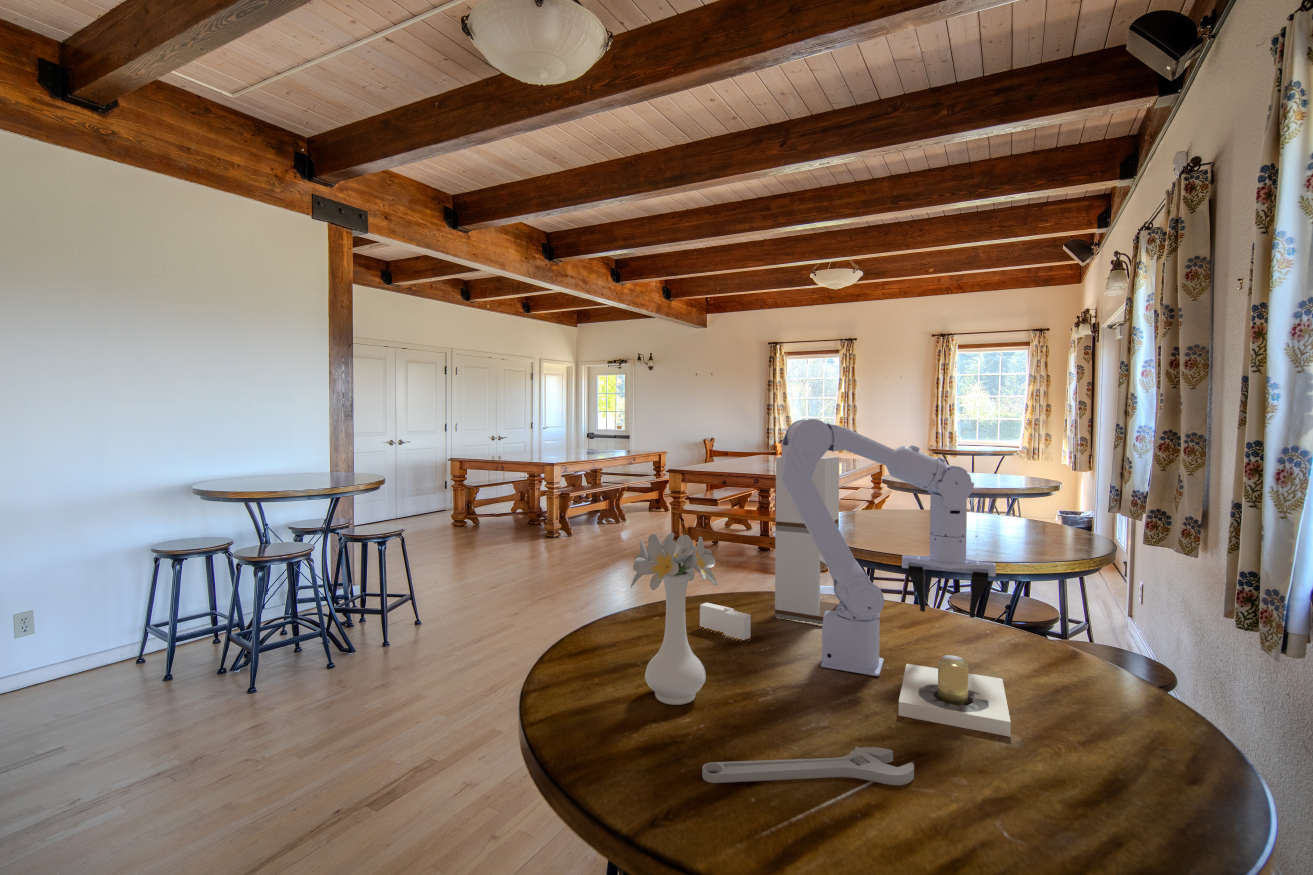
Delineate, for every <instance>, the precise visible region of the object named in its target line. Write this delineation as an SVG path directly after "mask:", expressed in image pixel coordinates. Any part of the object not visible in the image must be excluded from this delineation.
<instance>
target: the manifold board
mask: <svg viewBox="0 0 1313 875" xmlns="http://www.w3.org/2000/svg"><path fill="white" fill-rule="evenodd" d="M942 659H953V660H958V661H962V662H964V663H965V661H964V659H963V658H962V657H960V656H957V655H950V654H946V655H943V656H942ZM904 669H905V670H904V674H903V678H902V683H901V684H902V685H901V689H900V694H899V698H898V716H900V717H904V718H910V719H914V720H919V721H925V722H930V723H937V724H942V725H947V726H952V727H957V728H961V729H962V728H963V729H967V730H972V731H978V732H982V733H989V734H993V735H994V734H995V735H999V736H1005V737H1009V738H1011V732H1012V731H1011V727H1012V726H1011V725H1012V724H1011V722H1012V721H1011V716H1010V712H1009V707H1008V702H1007V697H1006V696H1007V694H1006V690H1005V686H1004V680H1003V678H1000V677H994V676H987V675H981V674H975V673H969V675H968V705H960V706H958V705H952V704H947V703H944V702H942V701H939V700H938V667H931V666H926V665H925V666H924V665H918V664H911V663H906V665H905V668H904Z"/></svg>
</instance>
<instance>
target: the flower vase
mask: <svg viewBox="0 0 1313 875" xmlns="http://www.w3.org/2000/svg"><path fill="white" fill-rule="evenodd" d="M674 537H675V533H674V532H671V533H669V534H667V535H666V536H665V538H663V541H661V539H660V537H659V536H658V534H656V533H651V534H650V535H648V539H647V541H648V542H647V544H648V545H647V549H646V545H645V543H644V539H643V537H641V538H640V544H639V551H640V552H639V553H638V554H637V555H635V557H634V559H635V560H634V563H633V566H632V569H633V571H635V572H636V574H635V575H634V578H633V579H632V582H631V585H630V588H633V587H634V585H635V584H636V583H637V582H638V580H639V579H640V578H641V577H643V576H647V575H648V576H649V575H651V578H650V581H649V587H650V590H651V591H655V590H656V589H658V587H659V586H660V584H661V583H662V581H663V586H664V592H665V623H664V624H665V627H664V636H663V640H662V643H661V646H660V648H659V650H658V652H656V653H655V655H653V657H652V658H651V659H650V660H649V662H648V663H647V666H646V669H645V673H644V679H645V681H646V684H647V685H648V687H649V688H650V689H651V691H653V692H654V696H655V699H656V700H658V701H659V702H660V703H663V704H666V705H673V706H674V705H675V706H679V705H685V704H689V703H691V702H693V701H694V700H695V698H696V693H698V692H699V691H700V690H701V689H702V687H703V685H705V683H706V679H707V678H706V676H707V674H706V669H705V666H704V665H703V663H702V661H701V660H700V658H699V657H698V656H696V655H695V653H694V652H693V650H692V648H691V646H690V643H689V641H688V640H689V639H688V634H687V621H686V596H687V595H686V594H687V589H688V583H689V581H690V582H691V581H693V580H694V579H695V572H694V571H696V572H697V573H698V574H699V576H701V578H702V579H703V580H704V581H706V580H708V581H709V582H710V583H712V584H713V585H714V586H716V587H717V586H718V581H717V579H716V577H715V575H714V574H713V571H712V569H711V568H713V567H714V566H716V559H715V557H714V555H713V552H712V550H710V549H708V548H705V544H704V539H703V537H702V536H699V537H698V541H697V544H696V545H695V544H694V541H693V540H692V538H691V537H690V535H688V534H684V535H683V534H682V535H680V536H679V537H678V538H677V540H674Z"/></svg>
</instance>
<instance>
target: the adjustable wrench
mask: <svg viewBox="0 0 1313 875" xmlns="http://www.w3.org/2000/svg"><path fill="white" fill-rule="evenodd" d="M892 762H894V751H893V750H892V749H889V748H885V747H884V748H883V747H877V746H866V747H865V746H863V747H859V746H855V747H854V750H851V751H850V752H849V753H848V754H847V755H846V754H845V755H844V756H838V757H822V758H821V757H820V758H817V757H816V758H797V759H796V758H795V759H794V758H793V759H792V758H791V759H789V758H788V759H773V760H772V759H768V760H767V759H765V760H740V761H739V760H738V761H712V762H710V761H709V762H707V763H704V764H703V765H702V767H701V768H702V770H701V771H702V772H701V774H702V775H701V776H702V779H703V780H704V781H706V783H707V782H708V783H712V784H714V783H715V784H720V783H741V782H743V783H744V782H760V781H761V782H762V781H780V780H781V781H783V780H803V779H805V780H806V779H823V778H827V779H828V778H850V779H851V778H852V779H860V780H865V781H869V782H875V783H880V784H884V785H888V786H889V785H890V786H903V785H907V784H910V783H911V782H912V781H913V780H914V778H915V764H914V763H913V762H908V763H905V764H903V765H900V766H895V765H891V764H888V763H892Z"/></svg>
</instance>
